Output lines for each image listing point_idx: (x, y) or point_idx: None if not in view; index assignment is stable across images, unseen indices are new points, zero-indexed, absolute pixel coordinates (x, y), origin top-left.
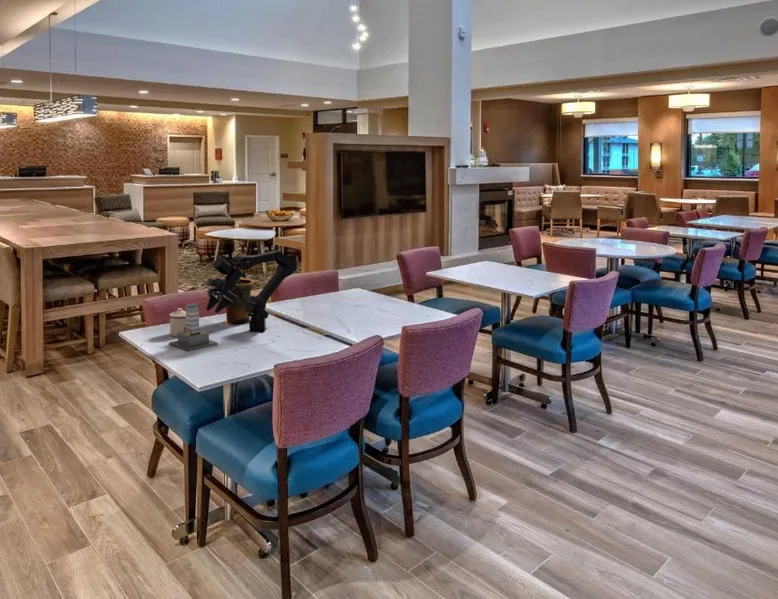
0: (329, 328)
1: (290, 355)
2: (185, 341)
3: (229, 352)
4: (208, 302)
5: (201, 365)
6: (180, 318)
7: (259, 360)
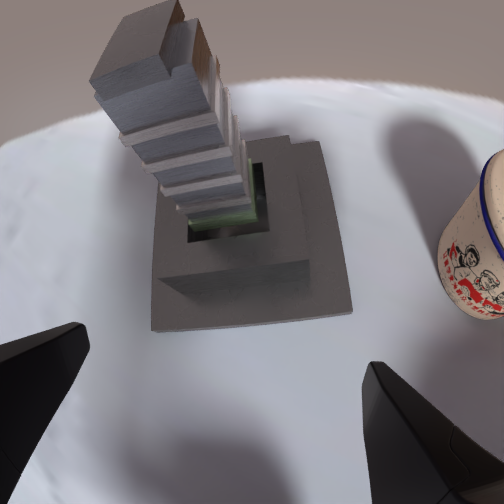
0: None
1: None
2: None
3: (50, 305)
4: (438, 428)
5: (41, 174)
6: (481, 189)
7: None
